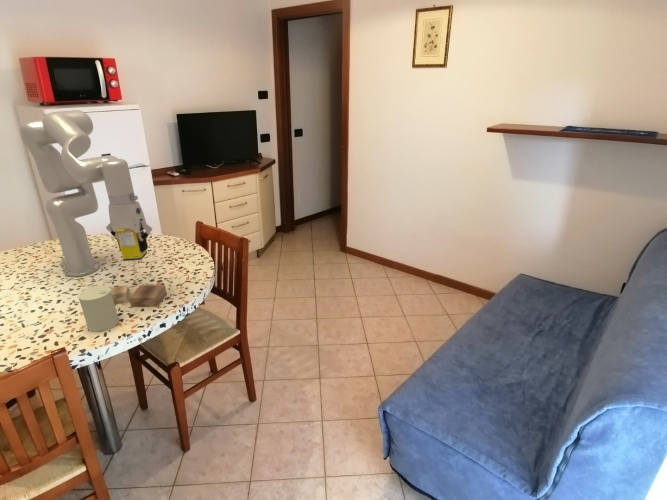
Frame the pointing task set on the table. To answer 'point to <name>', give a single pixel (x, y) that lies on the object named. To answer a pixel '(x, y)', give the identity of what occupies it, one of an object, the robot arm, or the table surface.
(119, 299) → the oak brick
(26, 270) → the table surface
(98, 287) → the can
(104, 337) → the table surface
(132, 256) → the supplement box
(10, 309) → the table surface
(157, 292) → the base brick
